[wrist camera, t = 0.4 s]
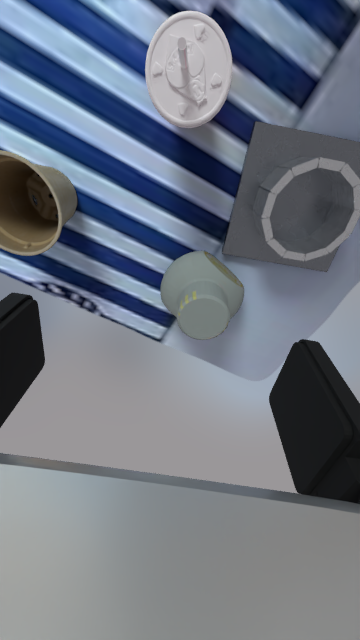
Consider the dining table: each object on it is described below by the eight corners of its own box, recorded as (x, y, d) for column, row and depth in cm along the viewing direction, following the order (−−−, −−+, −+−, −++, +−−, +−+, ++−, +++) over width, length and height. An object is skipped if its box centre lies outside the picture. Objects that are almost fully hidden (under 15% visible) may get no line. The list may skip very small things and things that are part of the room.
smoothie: (200, 36, 26) (206, -67, 14) (233, 107, 28) (261, 74, 16) (146, 85, 28) (110, 34, 16) (181, 148, 30) (172, 144, 18)
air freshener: (249, 286, 38) (265, 323, 30) (209, 323, 42) (213, 366, 33) (191, 235, 35) (190, 260, 27) (153, 279, 39) (141, 315, 30)
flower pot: (56, 249, 37) (22, 272, 30) (-3, 186, 33) (-60, 196, 26) (106, 205, 34) (81, 219, 26) (46, 130, 30) (-2, 123, 23)
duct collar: (253, 122, 29) (266, 115, 24) (380, 147, 29) (419, 146, 24) (221, 251, 36) (226, 267, 31) (323, 269, 37) (344, 287, 32)
